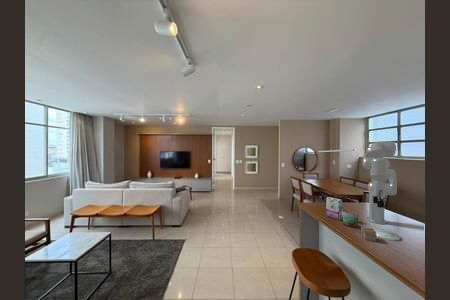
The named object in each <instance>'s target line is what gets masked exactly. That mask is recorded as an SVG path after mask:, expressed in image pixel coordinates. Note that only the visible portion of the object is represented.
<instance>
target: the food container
mask: <svg viewBox="0 0 450 300" xmlns="http://www.w3.org/2000/svg"><path fill="white" fill-rule="evenodd" d="M344 210H345V209H342V213H341V214H342V225H344V226H345V227H347V228H352V229H355V228H358V221H359V218H360V216H359V214H355V213H353V212H348V211H344Z"/></svg>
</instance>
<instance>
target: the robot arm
mask: <svg viewBox="0 0 450 300" xmlns="http://www.w3.org/2000/svg"><path fill="white" fill-rule="evenodd" d="M396 151H397V145H396V143H395V142H393V141H375V142H372V143H371V145H370V146H369V147H367V148H366V153H364V154H363V157H362V164H361V165H362V167H363V168H364V169H369V170H370V172H369V173H370V180H371V181H370V182H369V183H367V190H368V196H369V198H368V201H369V202H368V203H369V205H368V208H369V209H368V217H366V220H367V221H369V222H370V223H374V224H379V225H385V224H388V223H387V220H386V219H385V197H386V196H393V197H394V196H396V195H397V192H398V191H397V190H398V184H397V183H398V182H397V178H398V177H397V172H396V171H395V169H392V168H390V167H391V163H390V160H389V159H388V158H393V157H394V156H395V155H396Z"/></svg>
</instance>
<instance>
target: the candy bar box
mask: <svg viewBox="0 0 450 300" xmlns="http://www.w3.org/2000/svg"><path fill="white" fill-rule="evenodd" d="M325 203H326V204H325V216H326V217H327V216H328V217H327V218H330V217H331V218H330V219H333V218H334V219H333V220H337V221H343V215H342V214H341V213H342V210H343V199H341V198H336V197H332V196H331V197H330V196H328V197H326V198H325Z"/></svg>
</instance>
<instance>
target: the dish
mask: <svg viewBox="0 0 450 300" xmlns="http://www.w3.org/2000/svg"><path fill="white" fill-rule="evenodd" d="M373 230H374V231H376V238H380V239H381V240H386V241H393V242H394V241H395V242H397V241H400V240H401V237H400V235H399V234H398V233H395V232H394V231H393V232H392V231H390V230H386V229H378V228H376V229H373Z"/></svg>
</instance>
